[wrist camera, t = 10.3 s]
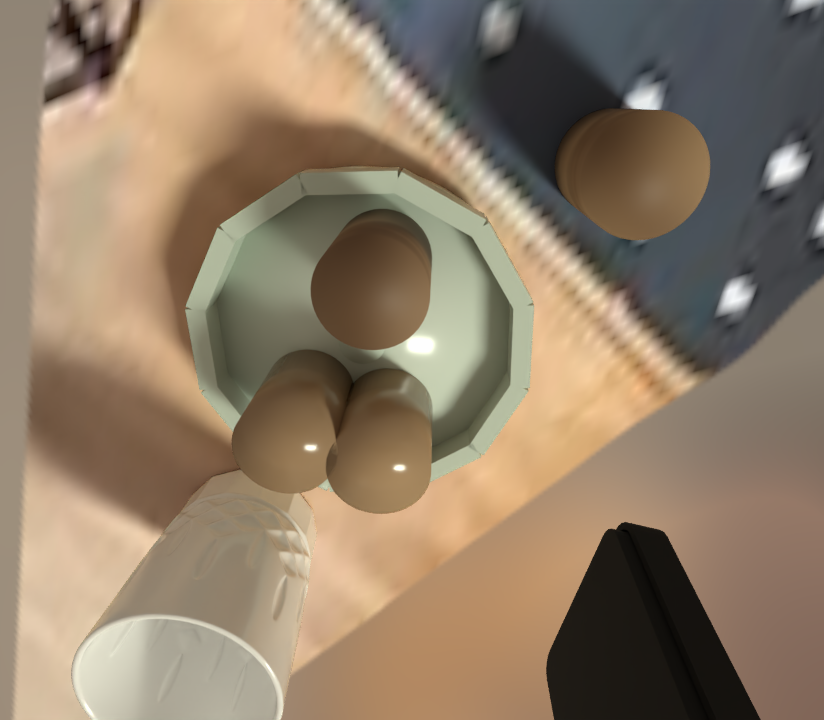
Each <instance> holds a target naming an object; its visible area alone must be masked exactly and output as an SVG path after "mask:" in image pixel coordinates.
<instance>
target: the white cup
mask: <svg viewBox="0 0 824 720" xmlns="http://www.w3.org/2000/svg"><path fill="white" fill-rule="evenodd" d="M316 537H317V532H316V526H315V520H314V515H313V510H312V509H311V507H310V506H309V505H308V503H307V502H306V501H305V499H304V498H303V497H302V496H301V494H300V493H293V494H288V493H279V492H275V491H271V490H268V489H266V488H263V487H261V486H260V485H258V484H256V483H255V482H253V481H252V480H251V479H250V478H248V477H247V476H246V475H245V474H244V473H243V471H242V470H236V471H232V472H228V473H224V474H221V475H217V476H213V477H212V478H210V479H209V480H208V481H207V482H206V483H205V484H204V485H203V486H201V487H200V488H199V489H198V490H197V491H196V492H195V493H194V494H193V495H192V496H191V498H190V499H189V500H188V502H187V503H186V505H185V506H184V508H183V509H182V510H181V512H180V513H179V514H178V515H177V516H176V517H175V518H174V519H173V521H172V522H171V523H170V524H169V525H168V527H167V528H166V529H165V530H164V532H163V533H162V534H161V536H160V537H159V539H158V540H157V541H156V543H155V544H154V545H153V546H152V548H151V549H150V550H149V552H148V553H147V554H146V555H145V557H144V558H143V559H142V560H141V562H140V563H139V565H138V566H137V567H136V569H135V570H134V572H133V573H132V574H131V576H130V577H129V578H128V580H127V581H126V583H125V584H124V585H123V587H122V588H121V590H120V591H119V592H118V594H117V595H116V596H115V598H114V599H113V601H112V602H111V603H110V605H109V606H108V608H107V609H106V610H105V612H104V613H103V614H102V616H101V617H100V619H99V620H98V621H97V623H96V624H95V625H94V627H93V628H92V630H91V631H90V632H89V634H88V635H87V636H86V638H85V639H84V640H83V642H82V643H81V645H80V646H79V648H78V649H77V651H76V654H75V656H74V659H73V663H72V670H71V676H72V684H73V688H74V691H75V694H76V697H77V699H78V701H79V703H80V705H81V706H82V708H83V709H84V711H85V712H86V714H87V715H88V716H89V717H90V718H91V720H281V717H282V713H283V708H284V703H285V698H286V693H287V688H288V684H289V679H290V674H291V669H292V665H293V660H294V656H295V651H296V646H297V642H298V637H299V632H300V628H301V623H302V617H303V612H304V605H305V599H306V594H307V589H308V584H309V575H310V564H311V559H312V555H313V550H314V546H315V542H316Z"/></svg>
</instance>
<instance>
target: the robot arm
mask: <svg viewBox="0 0 824 720" xmlns="http://www.w3.org/2000/svg"><path fill="white" fill-rule="evenodd" d="M546 672H547V673H546V674H547V682H548V687H549V693H550V699H551V704H552V710H553V716H554V720H760V718H759V716H758V714H757V712H756V710H755V708H754V706H753V704H752V702H751V700H750V698H749V696H748V694H747V692H746V690H745V688H744V686H743V684H742V682H741V680H740V678H739V677H738V675H737V673H736V671H735V669H734V667H733V665H732V663H731V661H730V659H729V657H728V655H727V653H726V651H725V649H724V647H723V645H722V643H721V641H720V639H719V637H718V635H717V633H716V631H715V630H714V627H713V625H712V623H711V621H710V620H709V618H708V616H707V614H706V612H705V610H704V608H703V606H702V604H701V602H700V600H699V598H698V596H697V594H696V592H695V590H694V588H693V586H692V584H691V582H690V580H689V579H688V577H687V574H686V572H685V570H684V569H683V567H682V565H681V563H680V561H679V559H678V557H677V555H676V553H675V551H674V549H673V547H672V545H671V543H670V541H669V539H668V537H667V536H666V534H665V533H664V532H663V531H661V530H658V529H654V528H649V527H645V526H641V525H636V524H632V523H627V522H624V523H621V524H620V525H619V526H618V527H617V529H616V530H615V529H608V530H607V531H606V532H605V534H604V535H603V537H602V539H601V542H600V544H599V546H598V548H597V550H596V552H595V555H594V557H593V559H592V561H591V563H590V565H589V568H588V569H587V572H586V574H585V576H584V578H583V580H582V583H581V585H580V587H579V589H578V591H577V593H576V596H575V598H574V600H573V602H572V604H571V606H570V609H569V611H568V613H567V615H566V617H565V619H564V621H563V623H562V625H561V628H560V630H559V632H558V634H557V636H556V638H555V641H554V643H553V645H552V647H551V649H550V652H549V655H548V659H547V667H546Z"/></svg>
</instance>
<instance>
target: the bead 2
mask: <svg viewBox="0 0 824 720" xmlns="http://www.w3.org/2000/svg"><path fill="white" fill-rule="evenodd" d="M709 174H710V158H709V152H708V148H707V145H706V143H705V141H704V139H703V137H702V135H701V133H700V132H699V131H698V129H697V128H696V127H695V126H694V125H693V124H692V123H691V122H689V121H688V120H687V119H685V118H683V117H682V116H680V115H678V114H675V113H672V112H668V111H663V110H641V109H616V108H609V109H602V110H598V111H595V112H592V113H590V114H588V115H586V116H584V117H583V118H581V119H580V120H578V121H577V122H576V123H575V124H574V125H573V126H572V127H571V128H570V129H569V130H568V131H567V133H566V134H565V136H564V137H563V139H562V141H561V143H560V145H559V147H558V150H557V154H556V158H555V177H556V181H557V185H558V187H559V189H560V191H561V193H562V195H563V196H564V197H565V199H566V200H567V201H568V202H569V203H570V204H571V205H573V206H574V207H575V208H577V209H578V210H579V211H580V212H582V213H583V214H584V215H585V216H587V217H588V218H589V219H591V220H592V221H593V222H594V223H596V224H597V225H598V226H599V227H601V228H602V229H604V230H605V231H606V232H608V233H610V234H612V235H614V236H617V237H620V238H623V239H628V240H645V239H650V238H655V237H658V236H661V235H663V234H665V233H667V232H670V231H671V230H673V229H674V228H676V227H677V226H679V225H680V224H681V223H683V222H684V221H685V220H686V219H687V218H688V217H689V216H690V215H691V214H692V212H693V211H694V210H695V209H696V207H697V206H698V204H699V203H700V201H701V199H702V197H703V195H704V193H705V190H706V187H707V184H708V180H709Z"/></svg>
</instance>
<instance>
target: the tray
mask: <svg viewBox="0 0 824 720" xmlns="http://www.w3.org/2000/svg"><path fill="white" fill-rule="evenodd" d="M373 209H390V210H395V211H398V212H401V213H403V214H405V215H407V216H409V217H410V218H412V219H413V220H414V221H415V222H416V223H417V224H418V225H419V226H420V227H421V228H422V229H423V231H424V232H425V234H426V236H427V238H428V240H429V243H430V246H431V251H432V270H431V289H430V303H429V309H428V312H427V315H426V317H425V319H424V321H423V323H422V324H421V326H420V327H419V329H418V330H417V331H416V332H415V333H414V334H413V335H412V336H411V337H410V338H408V339H407V340H405V341H404V342H402V343H400V344H398V345H396V346H394V347H391V348H387V349H382V350H364V349H358V348H355V347H351V346H349V345H347V344H344V343H343V342H341V341H339V340H338V339H336V338H335V337H334V336H332V335H331V334H330V333H329V332H328V331H327V330H326V329H325V328H324V326H323V325H322V324H321V322H320V321H319V319H318V318H317V315H316V313H315V311H314V308H313V305H312V300H311V289H310V288H311V280H312V276H313V272H314V270H315V267H316V265H317V263H318V262H319V260H320V259H321V257H322V256H323V255H324V253H325V252H326V251H327V249H328V248H329V247H330V245H331V244H332V243H333V241H334V240H335V239H336V237H337V236H338V235H339V233H340V232H341V231H342V229H343V228H344V227H345V225H346V224H347V223H348V222H349V221H350V220H351V219H353V218H354V217H356V216H357V215H359V214H361V213H363V212H366V211H369V210H373ZM186 307H188V308H186V309H185V312H186V317H187V323H188V329H189V334H190V340H191V345H192V351H193V356H194V362H195V367H196V373H197V378H198V384H199V389H200V390H203V391H202V392H201V393H202V395H203V396H204V397H205V398H206V399H207V401H208V402H209V403H210V404H211V406H212V407H213V408H214V409H215V410H216V412H217V413H218V414H219V415H220V417H221V418H222V419H223V420H224V422H225V423H226V424H227V425H228V426H229V428H230V429H231V430H232V431H233V435H232V451H233V455H234V458H235V460H236V462H237V464H238V466H239V467H240V469H241V470H242V471H243V473H244V474H245V475H246V476H247V477H248V478H250V479H251V480H252V481H253V482H255V483H256V484H258V485H260V486H261V487H263V488H266V489H268V490H271V491H275V492H279V493H288V494H293V493H302V492H306V491H309V490H312V489H314V488H316V487H320V488H322V489H324V490H326V491H327V489H328V488H330V492H335V493H336V494H337V495H338V497H340V498H341V499H342V500H343V501H344V502H346V503H347V504H348V505H350V506H352V507H354V508H356V509H358V510H361V511H365V512H369V513H375V514H387V513H394V512H397V511H401V510H403V509H406V508H408V507H409V506H411V505H413V504H414V503H415V502H417V501H418V500H419V499H420V498H421V497H422V495H423V494H424V493H425V491H426V489H427V488H428V485H429V483H430V482H431V481H433V480H435V479H437V478H439V477H442V476H444V475H446V474H448V473H450V472H452V471H454V470H456V469H458V468H460V467H462V466H464V465H466V464H468V463H470V462H472V461H474V460H476V459H479V458H481V454H482V455H484V454H485V453H486V451H487V450H488V448H489V447H490V445H491V444H492V443H493V441H494V440H495V438H496V437H497V435H498V434H499V433H500V431H501V430H502V428H503V427H504V425H505V424H506V423H507V421H508V420H509V418H510V417H511V415H512V414H513V413H514V411H515V410H516V408H517V407H518V405H519V404H520V402H521V401H522V400H523V398H524V397H525V395H526V394H527V392H528V388H530V371H531V353H532V335H533V317H534V304H533V300H532V298H531V296H530V294H529V292H528V290H527V288H526V286H525V285H524V283H523V281H522V279H521V277H520V276H519V274H518V272H517V270H516V268H515V267H514V265H513V263H512V261H511V259H510V258H509V256H508V254H507V251H506V249H505V248H504V246H503V245H502V243H501V241H500V240H499V238H498V236H497V234H496V232H495V231H494V229H493V227H492V225H491V223H490V222H489V220H488V218H487V216H486V217H485V215H484V213H482V212H480V211H478V210H477V209H475V208H473V207H471V206H470V205H468V204H467V203H466V202H464V201H463V200H462V199H460V198H459V197H457V196H456V195H454V194H453V193H451V192H450V191H448V190H447V189H445V188H444V187H442V186H440V185H438V184H436V183H433V182H431V181H429V180H427V179H425V178H423V177H420V176H417V175H415V174H414V173H412V172H410V171H408V170H407V169H405V168H403V170H402V171H401V170H400V167H380V166H358V165H356V166H345V167H334V168H329V169H306V170H303V171H301V172H299V173H297V174H295V175H294V176H292V177H291V178H289V179H288V180H286V181H285V182H283V183H282V184H280V185H279V186H277V187H276V188H274V189H273V190H271V191H270V192H268V193H267V194H265V195H264V196H262V197H261V198H259V199H258V200H256V201H255V202H253V203H252V204H250V205H249V206H247V207H246V208H244V209H243V210H242V211H240V212H239V213H237V214H236V215H234V216H233V217H231V218H230V219H228V220H227V221H225V222H224V223H222V224H221V225H220V227H218V228H217V230H216V233H215V235H214V238H213V240H212V242H211V245H210V247H209V250H208V252H207V255H206V257H205V260H204V262H203V264H202V267H201V269H200V272H199V274H198V277H197V279H196V282H195V284H194V286H193V289H192V291H191V294H190V296H189V299H188V301H187V304H186Z"/></svg>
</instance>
